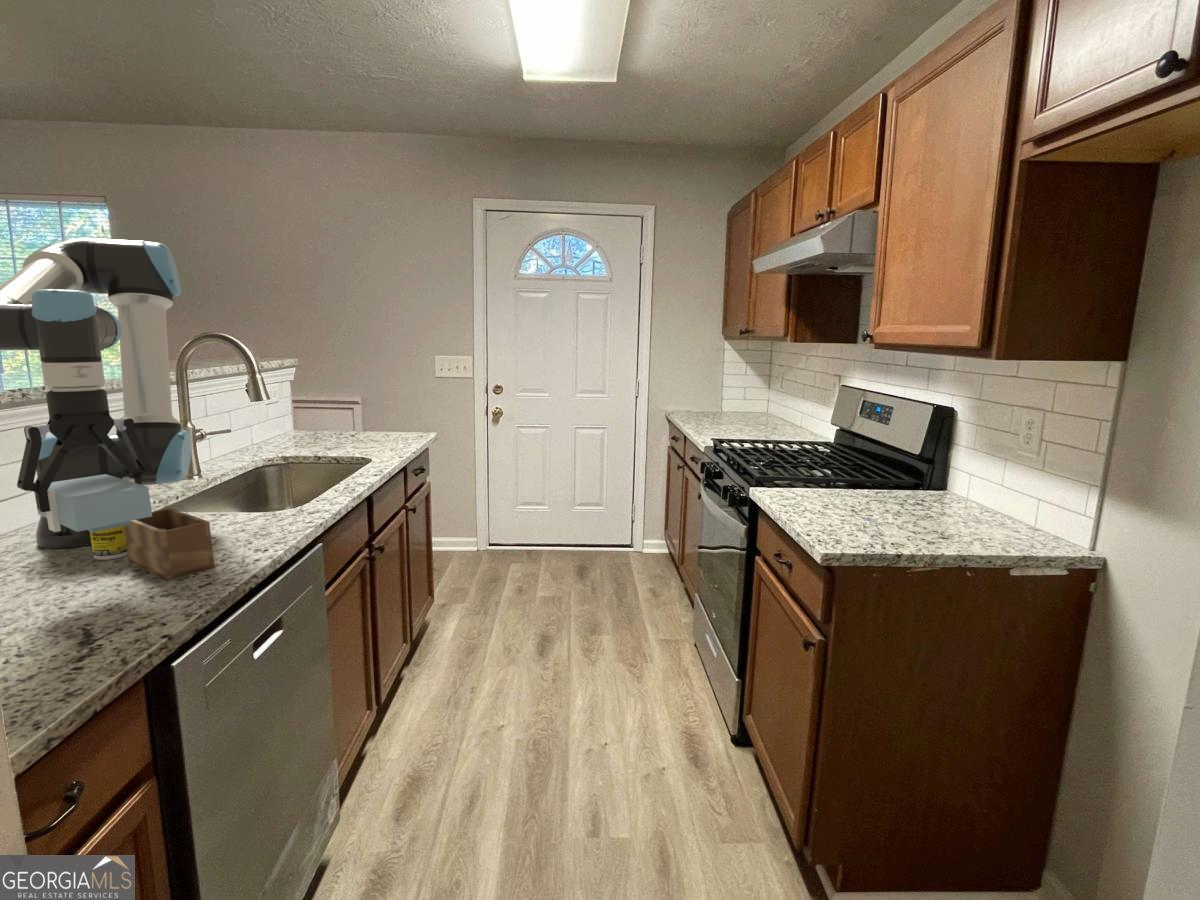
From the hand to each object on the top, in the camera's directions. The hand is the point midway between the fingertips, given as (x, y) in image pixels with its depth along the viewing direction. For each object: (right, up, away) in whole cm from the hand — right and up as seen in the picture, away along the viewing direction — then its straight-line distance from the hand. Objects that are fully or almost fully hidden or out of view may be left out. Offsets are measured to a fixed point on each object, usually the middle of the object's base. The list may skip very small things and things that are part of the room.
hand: (95, 522), depth 103 cm
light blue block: (0, 0, 0) cm, 0 cm away
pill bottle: (-13, -9, +20) cm, 25 cm away
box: (+2, -10, +15) cm, 18 cm away
